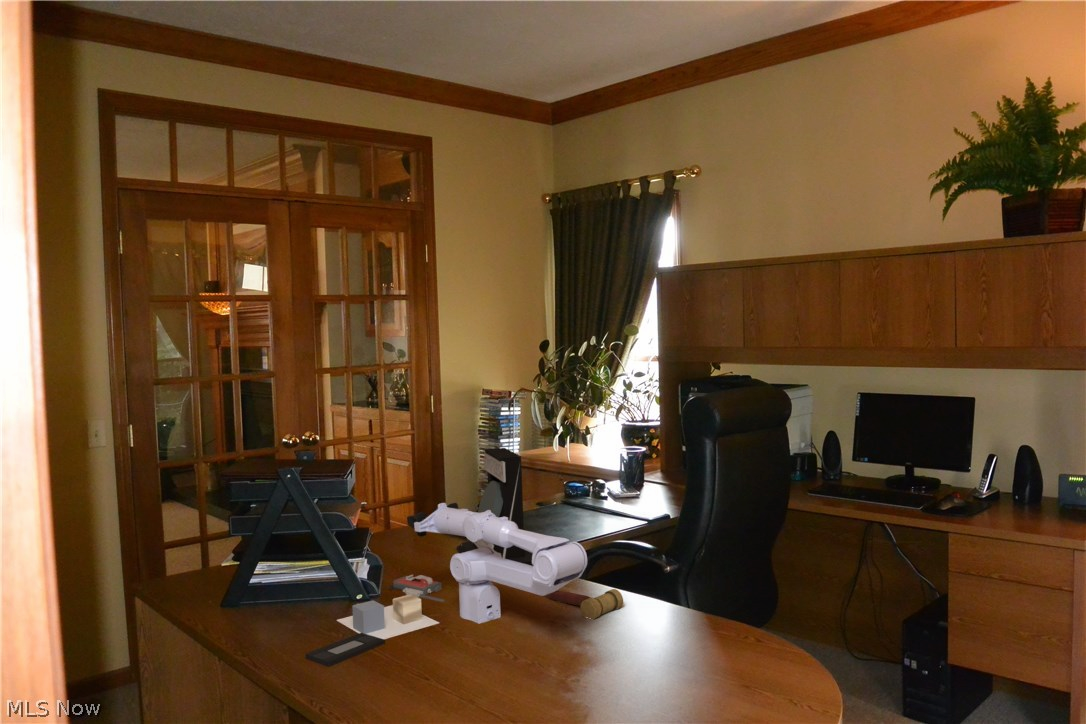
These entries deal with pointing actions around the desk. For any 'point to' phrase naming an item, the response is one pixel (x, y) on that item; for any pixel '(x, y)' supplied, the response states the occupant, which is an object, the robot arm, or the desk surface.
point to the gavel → (590, 602)
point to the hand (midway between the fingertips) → (421, 516)
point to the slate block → (368, 617)
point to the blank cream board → (392, 625)
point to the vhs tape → (344, 649)
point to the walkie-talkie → (417, 586)
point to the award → (502, 500)
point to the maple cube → (407, 609)
